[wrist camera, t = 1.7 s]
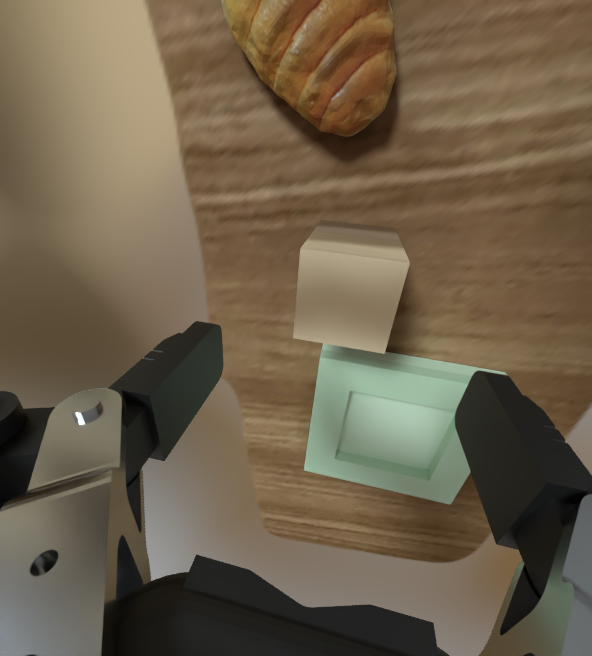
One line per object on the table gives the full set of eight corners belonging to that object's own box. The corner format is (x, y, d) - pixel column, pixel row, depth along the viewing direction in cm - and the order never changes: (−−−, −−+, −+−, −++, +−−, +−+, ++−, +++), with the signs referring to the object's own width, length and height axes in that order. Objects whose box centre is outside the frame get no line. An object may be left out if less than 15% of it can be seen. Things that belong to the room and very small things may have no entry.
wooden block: (321, 220, 18) (300, 248, 12) (394, 228, 18) (410, 262, 12) (313, 286, 21) (293, 337, 15) (378, 296, 20) (384, 354, 14)
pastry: (430, 76, 14) (448, 52, 11) (316, 169, 17) (305, 171, 14) (324, -166, 12) (307, -292, 8) (210, -6, 15) (165, -53, 11)
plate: (323, 340, 23) (320, 357, 21) (505, 372, 21) (519, 393, 19) (307, 450, 29) (303, 470, 27) (444, 481, 27) (450, 504, 26)
